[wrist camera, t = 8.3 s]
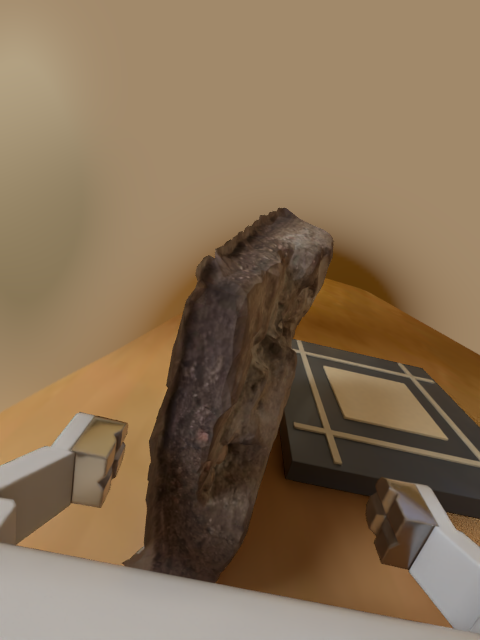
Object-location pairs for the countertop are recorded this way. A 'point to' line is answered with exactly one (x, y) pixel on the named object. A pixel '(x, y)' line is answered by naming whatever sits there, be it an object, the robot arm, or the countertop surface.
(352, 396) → the board
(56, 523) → the countertop surface
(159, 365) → the countertop surface
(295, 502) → the countertop surface
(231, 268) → the mineral sample
